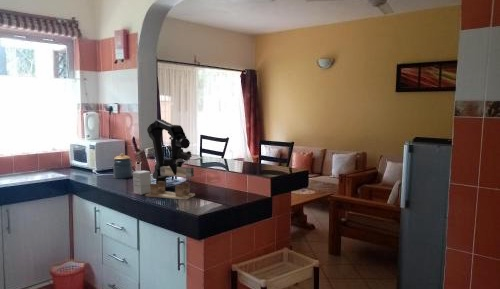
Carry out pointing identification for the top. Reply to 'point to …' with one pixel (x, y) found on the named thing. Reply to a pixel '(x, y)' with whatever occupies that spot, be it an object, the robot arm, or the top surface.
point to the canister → (122, 167)
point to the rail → (180, 171)
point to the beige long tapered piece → (179, 193)
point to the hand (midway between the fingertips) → (177, 174)
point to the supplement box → (142, 182)
